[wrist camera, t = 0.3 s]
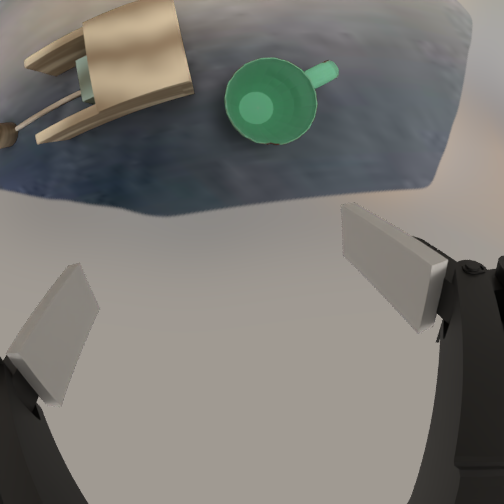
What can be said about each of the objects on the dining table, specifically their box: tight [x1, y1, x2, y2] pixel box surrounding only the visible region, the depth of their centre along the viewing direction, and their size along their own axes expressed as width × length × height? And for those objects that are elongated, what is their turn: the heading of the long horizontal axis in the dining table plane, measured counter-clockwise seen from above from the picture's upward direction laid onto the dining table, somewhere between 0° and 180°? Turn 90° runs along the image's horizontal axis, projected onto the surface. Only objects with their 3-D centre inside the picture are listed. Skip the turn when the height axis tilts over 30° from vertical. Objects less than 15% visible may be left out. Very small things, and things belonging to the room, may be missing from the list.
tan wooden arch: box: [24, 0, 195, 144], centre depth 25 cm, size 12×19×10 cm, turn 102°
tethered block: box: [0, 55, 95, 149], centre depth 25 cm, size 6×25×10 cm, turn 102°
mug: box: [224, 58, 339, 145], centre depth 30 cm, size 15×10×10 cm
